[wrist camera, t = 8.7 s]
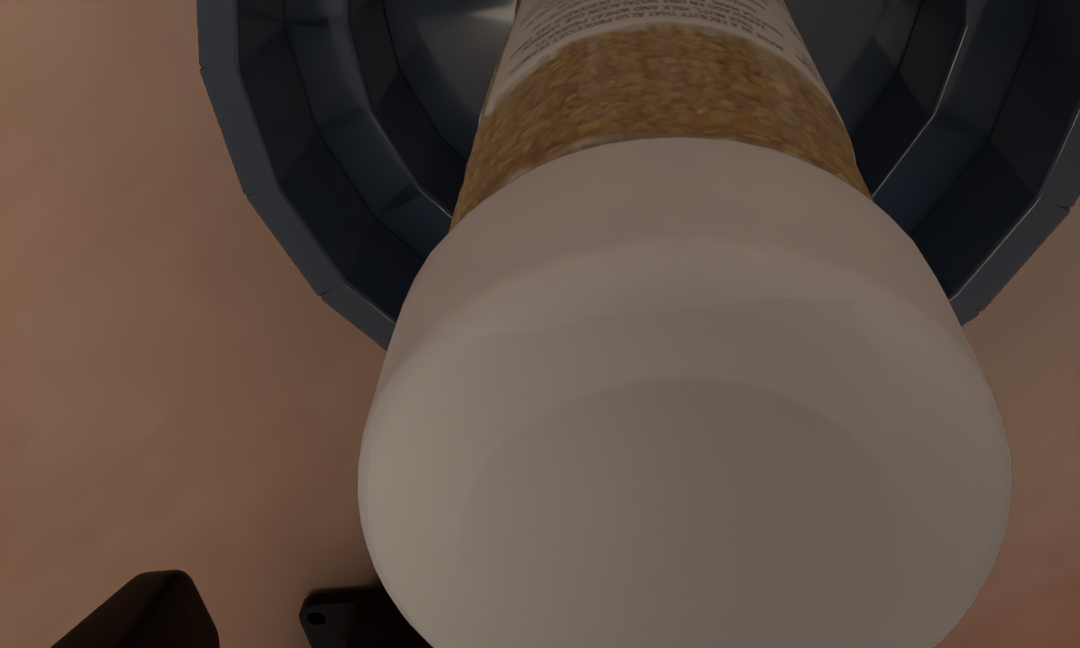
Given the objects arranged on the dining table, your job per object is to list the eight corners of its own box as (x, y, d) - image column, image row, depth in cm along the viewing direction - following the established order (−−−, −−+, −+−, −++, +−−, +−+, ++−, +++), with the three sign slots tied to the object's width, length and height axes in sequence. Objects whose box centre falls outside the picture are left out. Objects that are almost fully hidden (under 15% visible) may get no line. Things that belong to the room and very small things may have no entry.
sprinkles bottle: (499, 102, 19) (317, 705, 8) (544, -157, 17) (373, 186, 6) (733, 150, 20) (881, 808, 8) (812, -99, 17) (1174, 348, 6)
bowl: (996, 245, 21) (1094, 397, 16) (395, 313, 23) (339, 465, 18) (1051, -562, 14) (1240, -667, 10) (196, -367, 16) (36, -382, 12)
